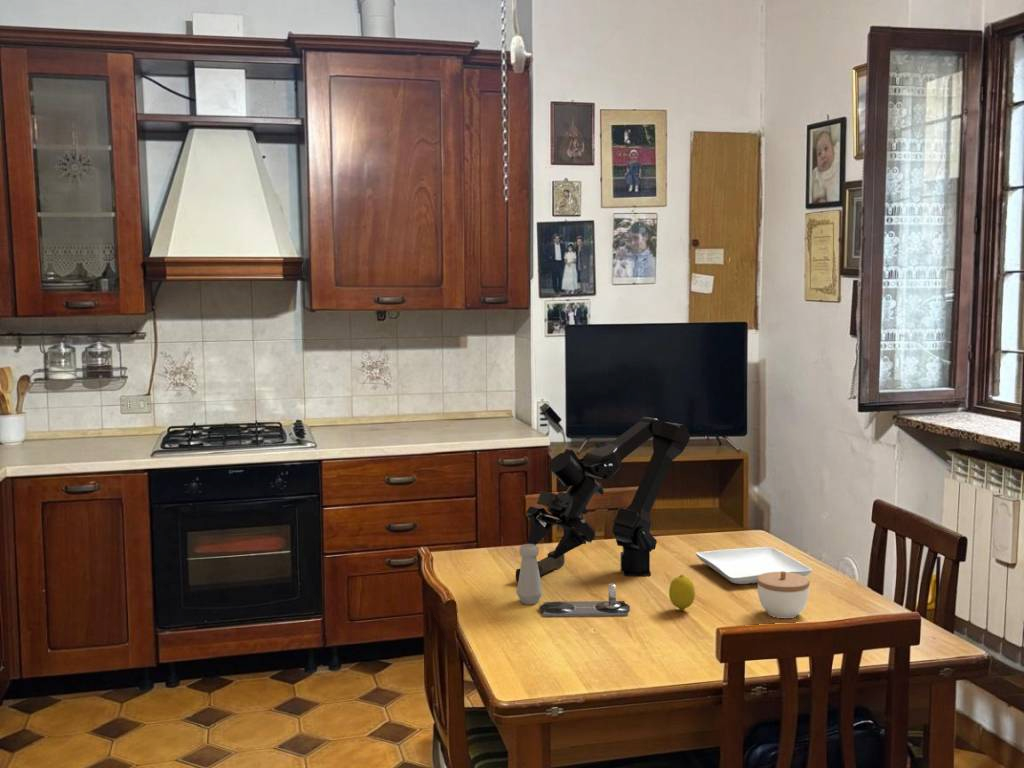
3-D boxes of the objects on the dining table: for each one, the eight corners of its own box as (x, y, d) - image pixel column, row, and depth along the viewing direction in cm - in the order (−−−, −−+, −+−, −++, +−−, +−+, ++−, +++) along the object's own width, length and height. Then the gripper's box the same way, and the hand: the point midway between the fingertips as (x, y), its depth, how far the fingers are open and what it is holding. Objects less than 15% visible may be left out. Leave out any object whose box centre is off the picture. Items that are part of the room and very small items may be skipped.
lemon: (696, 607, 226) (696, 572, 225) (692, 615, 221) (692, 579, 220) (671, 605, 228) (671, 570, 227) (666, 613, 222) (666, 577, 222)
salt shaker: (534, 607, 228) (533, 550, 226) (511, 603, 231) (510, 546, 229) (547, 600, 233) (546, 543, 231) (525, 596, 236) (524, 540, 234)
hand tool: (528, 586, 243) (528, 567, 243) (514, 583, 246) (514, 564, 245) (573, 567, 258) (573, 549, 258) (560, 564, 261) (559, 546, 260)
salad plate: (814, 582, 243) (815, 568, 243) (731, 591, 238) (731, 576, 237) (771, 558, 263) (771, 544, 263) (693, 565, 258) (693, 552, 258)
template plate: (628, 603, 229) (627, 600, 229) (631, 615, 221) (631, 613, 221) (539, 604, 230) (539, 601, 230) (540, 616, 222) (539, 614, 222)
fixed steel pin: (619, 604, 227) (619, 582, 226) (621, 609, 224) (621, 587, 223) (603, 604, 227) (603, 582, 227) (604, 609, 224) (604, 587, 223)
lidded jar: (819, 617, 218) (820, 574, 217) (779, 626, 214) (780, 582, 213) (785, 603, 228) (785, 561, 227) (746, 611, 223) (746, 568, 222)
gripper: (531, 471, 241) (494, 525, 236) (585, 483, 226) (547, 541, 221) (557, 499, 247) (521, 552, 241) (611, 513, 232) (574, 570, 227)
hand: (540, 553), depth 232 cm, fingers open, 9 cm apart
